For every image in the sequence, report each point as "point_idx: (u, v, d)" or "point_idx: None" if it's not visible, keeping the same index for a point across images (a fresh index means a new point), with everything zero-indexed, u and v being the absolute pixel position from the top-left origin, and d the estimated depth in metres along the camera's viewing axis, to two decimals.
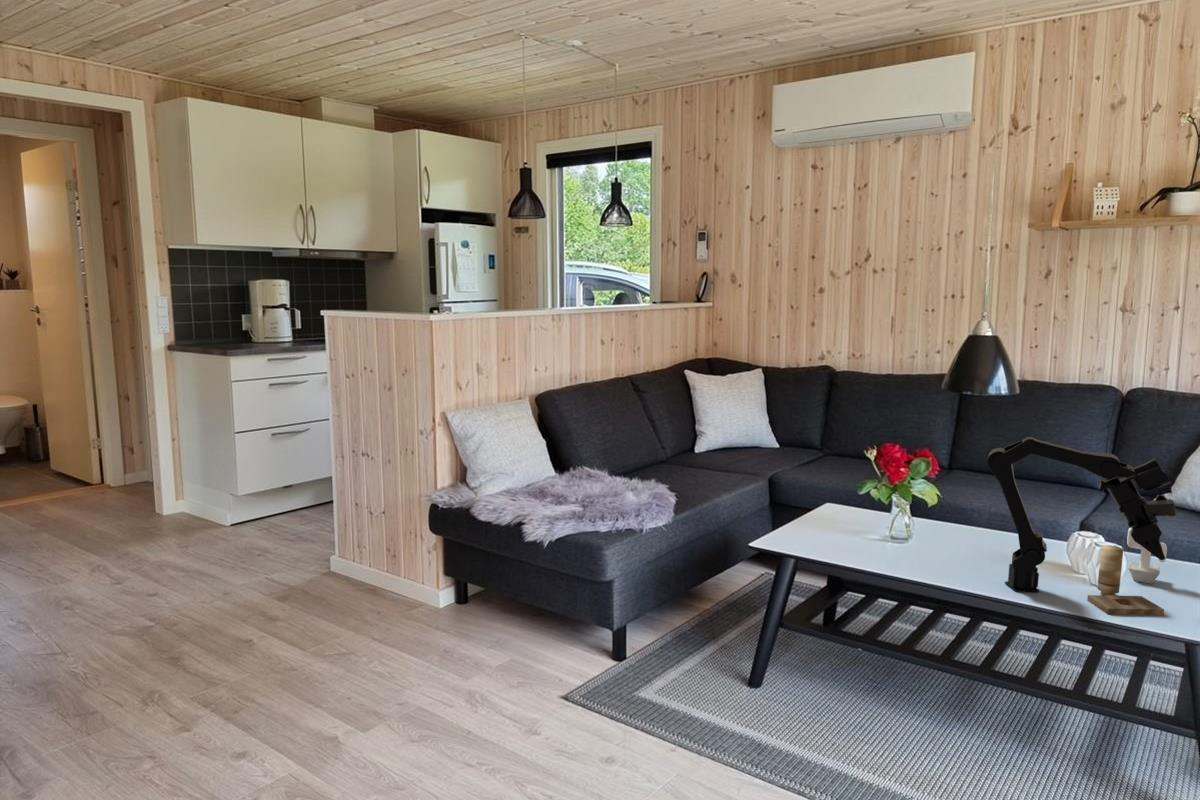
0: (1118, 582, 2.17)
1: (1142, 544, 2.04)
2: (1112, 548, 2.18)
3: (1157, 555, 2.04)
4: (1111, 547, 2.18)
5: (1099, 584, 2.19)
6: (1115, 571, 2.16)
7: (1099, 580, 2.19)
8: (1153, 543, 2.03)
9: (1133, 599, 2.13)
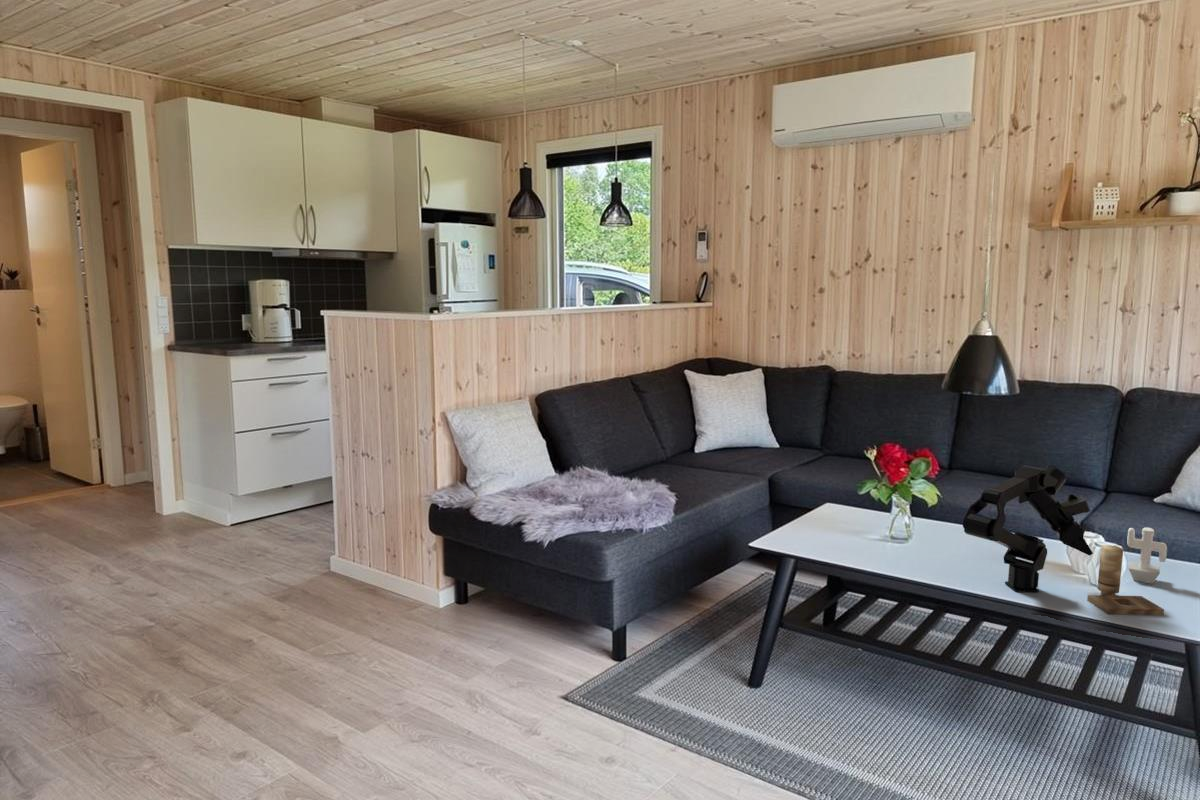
0: (1118, 582, 2.17)
1: (1070, 545, 2.16)
2: (1112, 548, 2.18)
3: (1085, 551, 2.16)
4: (1111, 547, 2.18)
5: (1099, 584, 2.19)
6: (1115, 571, 2.16)
7: (1099, 580, 2.19)
8: (1079, 541, 2.16)
9: (1133, 599, 2.13)
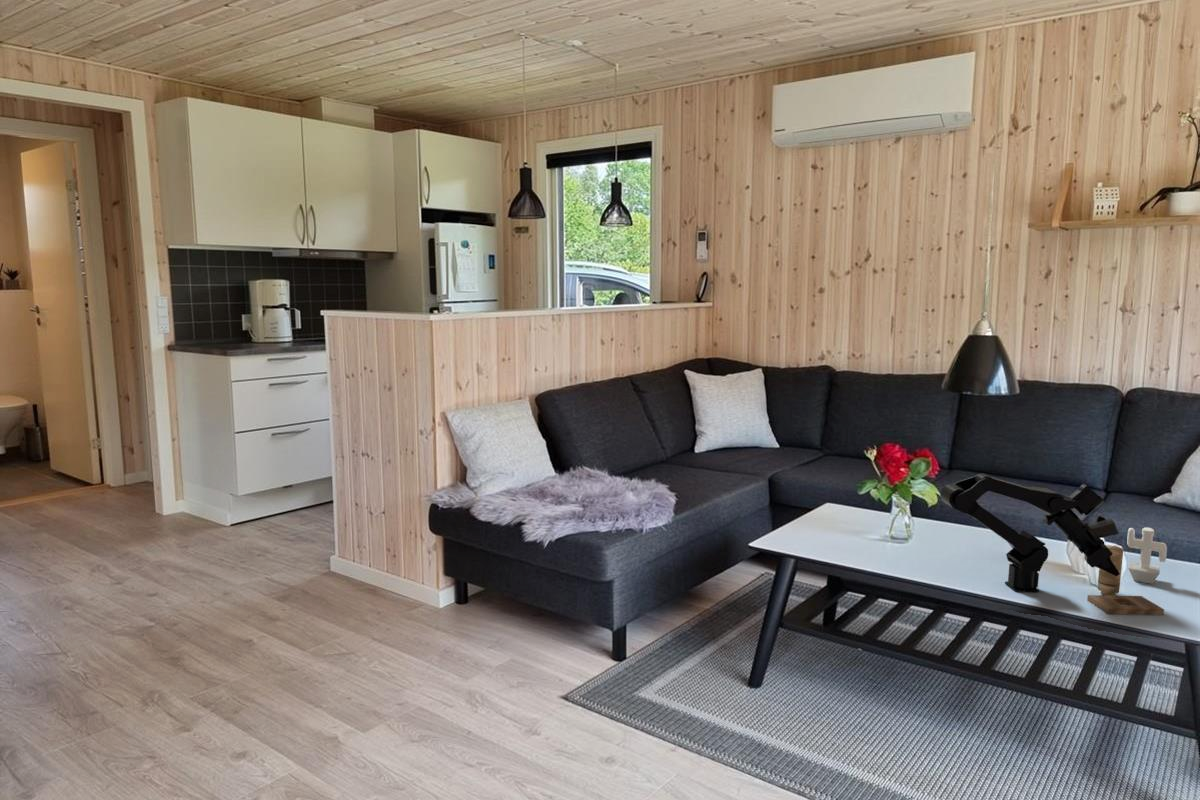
0: (1118, 582, 2.17)
1: (1097, 565, 2.16)
2: (1112, 548, 2.18)
3: (1112, 572, 2.16)
4: (1111, 547, 2.18)
5: (1099, 584, 2.19)
6: None
7: (1099, 580, 2.19)
8: (1106, 562, 2.15)
9: (1133, 599, 2.13)
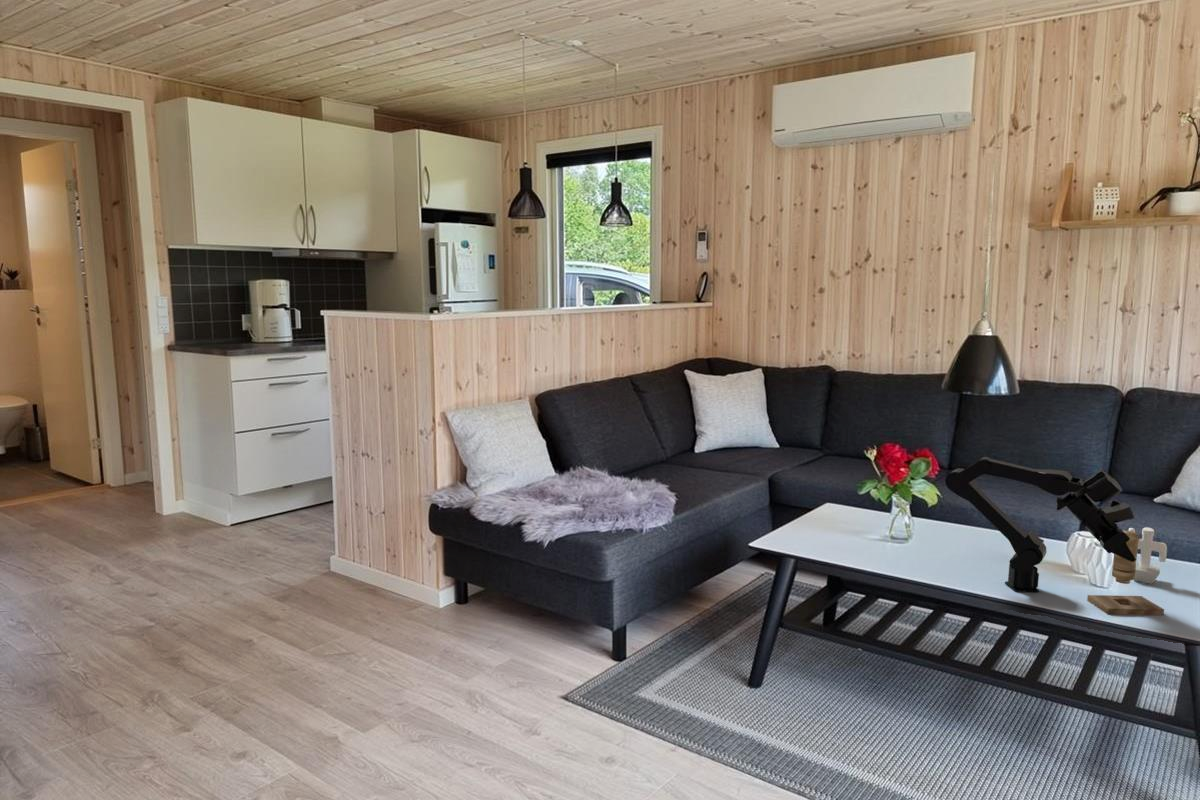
0: (1134, 568, 2.10)
1: (1112, 551, 2.08)
2: (1127, 533, 2.11)
3: (1128, 558, 2.08)
4: (1126, 532, 2.11)
5: (1113, 570, 2.12)
6: None
7: (1114, 566, 2.12)
8: (1122, 547, 2.08)
9: (1133, 599, 2.13)
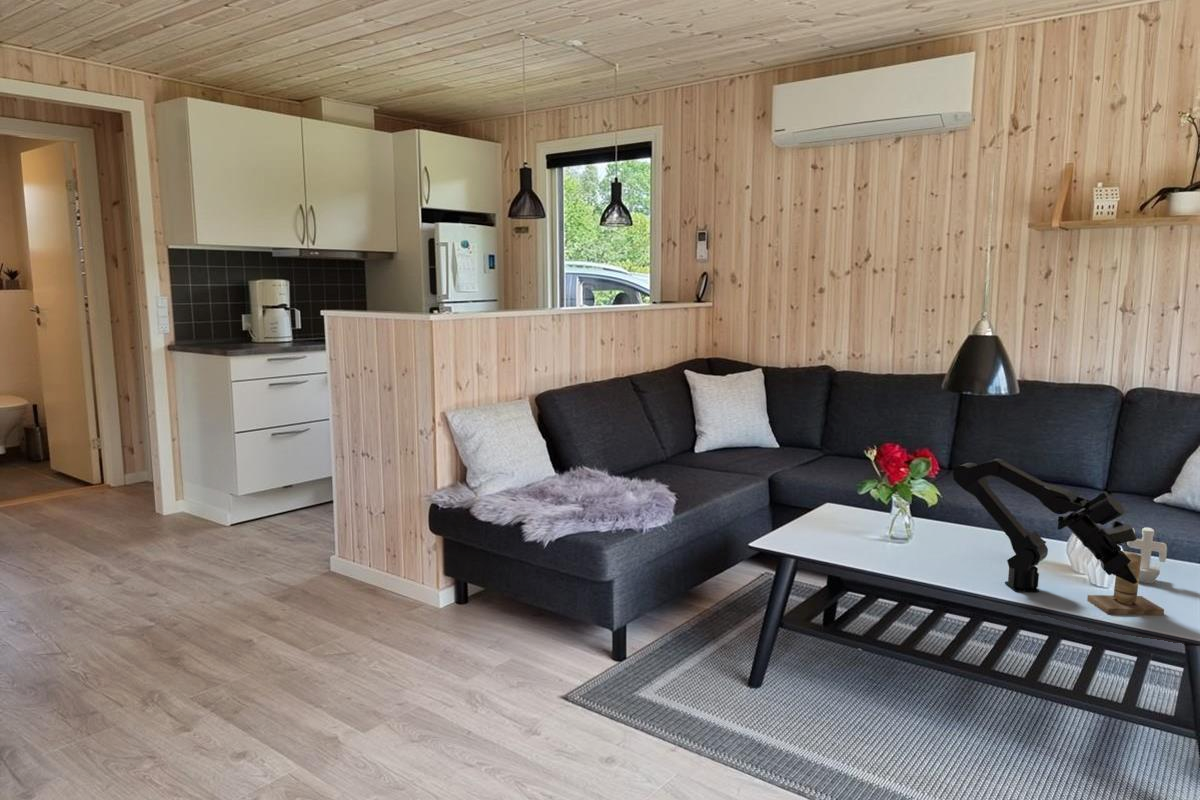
0: (1136, 590, 2.08)
1: (1113, 573, 2.07)
2: (1130, 554, 2.09)
3: (1129, 580, 2.07)
4: (1128, 554, 2.09)
5: (1115, 592, 2.11)
6: None
7: (1115, 588, 2.10)
8: (1123, 569, 2.06)
9: None
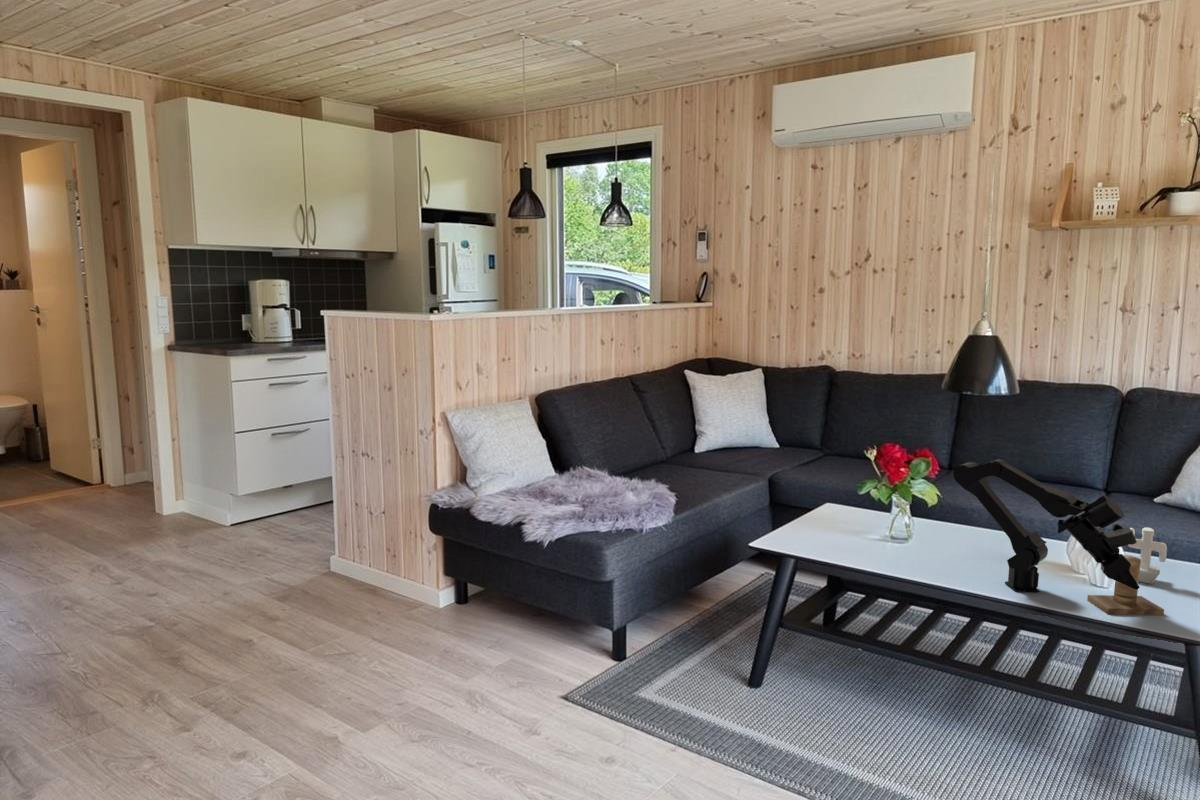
0: (1135, 594, 2.08)
1: (1115, 578, 2.05)
2: (1129, 558, 2.09)
3: (1131, 586, 2.05)
4: (1128, 557, 2.10)
5: (1115, 595, 2.11)
6: None
7: (1115, 592, 2.10)
8: (1125, 575, 2.05)
9: None
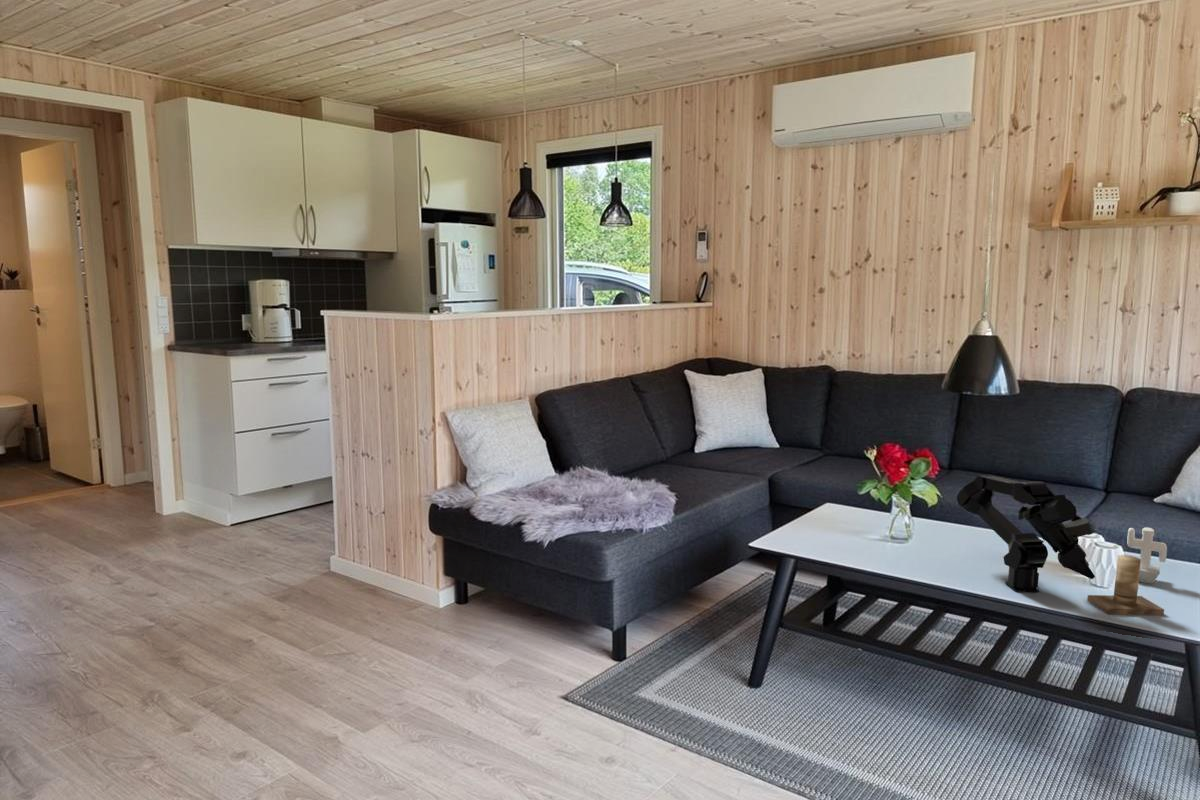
0: (1135, 594, 2.08)
1: (1071, 568, 2.10)
2: (1129, 558, 2.09)
3: (1087, 575, 2.10)
4: (1128, 557, 2.10)
5: (1115, 595, 2.11)
6: (1133, 582, 2.07)
7: (1115, 592, 2.10)
8: (1081, 564, 2.10)
9: None
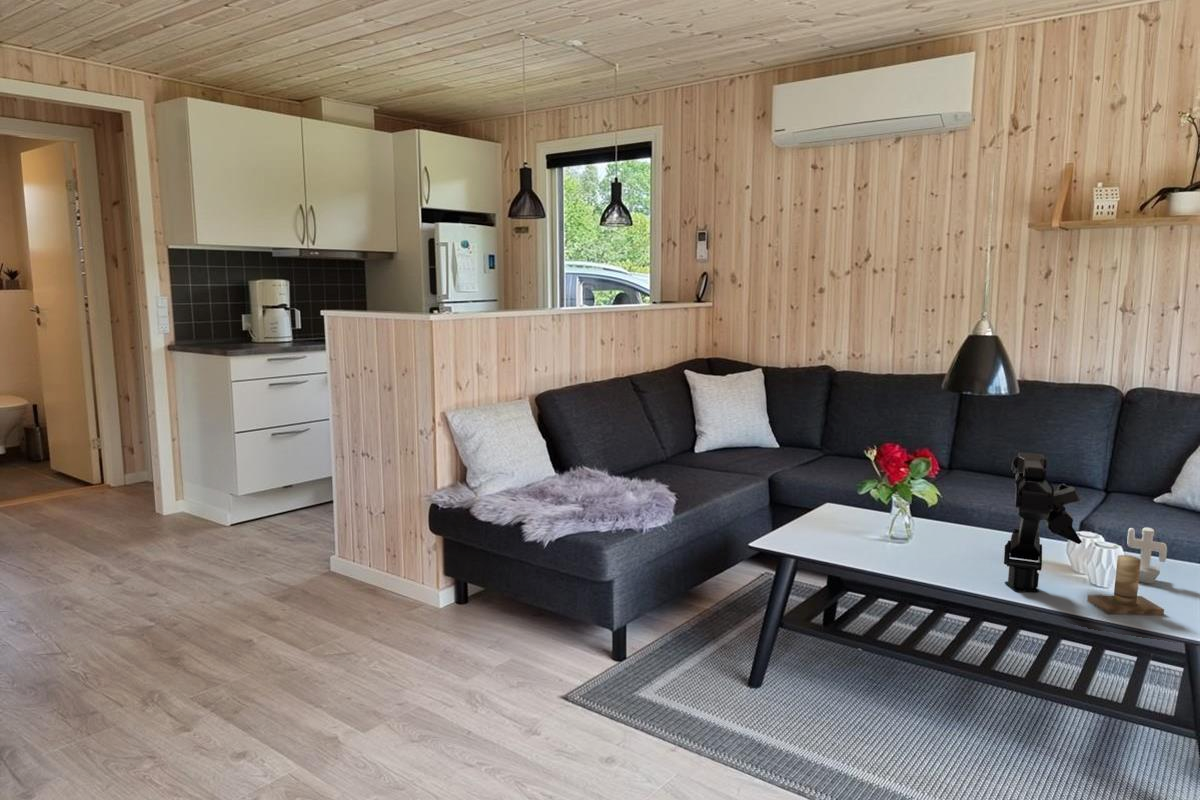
0: (1135, 594, 2.08)
1: (1059, 533, 2.20)
2: (1129, 558, 2.09)
3: (1074, 540, 2.20)
4: (1128, 557, 2.10)
5: (1115, 595, 2.11)
6: (1133, 582, 2.07)
7: (1115, 592, 2.10)
8: (1068, 530, 2.20)
9: None
